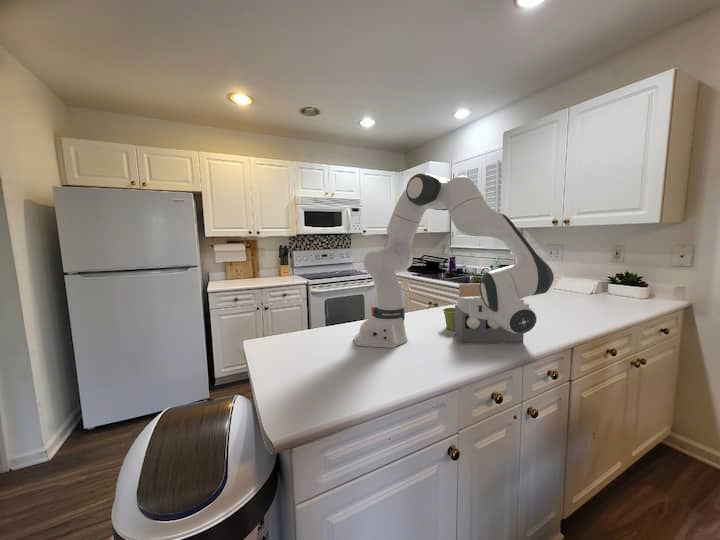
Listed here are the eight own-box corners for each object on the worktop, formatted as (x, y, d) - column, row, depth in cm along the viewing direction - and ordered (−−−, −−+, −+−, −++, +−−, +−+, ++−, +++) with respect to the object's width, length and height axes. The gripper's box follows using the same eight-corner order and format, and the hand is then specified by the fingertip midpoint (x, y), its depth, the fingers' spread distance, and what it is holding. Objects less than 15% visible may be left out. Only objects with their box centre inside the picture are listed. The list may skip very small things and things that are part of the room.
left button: (468, 329, 115) (468, 318, 114) (465, 326, 118) (465, 315, 118) (479, 329, 115) (479, 317, 114) (476, 326, 118) (476, 315, 118)
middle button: (489, 328, 114) (489, 317, 114) (485, 325, 118) (485, 315, 117) (500, 328, 114) (500, 317, 114) (496, 325, 118) (497, 315, 117)
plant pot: (440, 330, 135) (440, 311, 134) (445, 324, 144) (445, 306, 143) (462, 332, 131) (462, 313, 130) (465, 326, 139) (465, 308, 138)
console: (461, 344, 118) (462, 287, 115) (454, 335, 128) (455, 283, 125) (523, 343, 117) (525, 286, 114) (511, 334, 126) (513, 281, 124)
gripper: (532, 296, 91) (511, 288, 105) (465, 298, 92) (453, 290, 106) (531, 316, 92) (511, 305, 106) (465, 318, 93) (453, 307, 107)
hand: (481, 298), depth 106 cm, fingers closed
